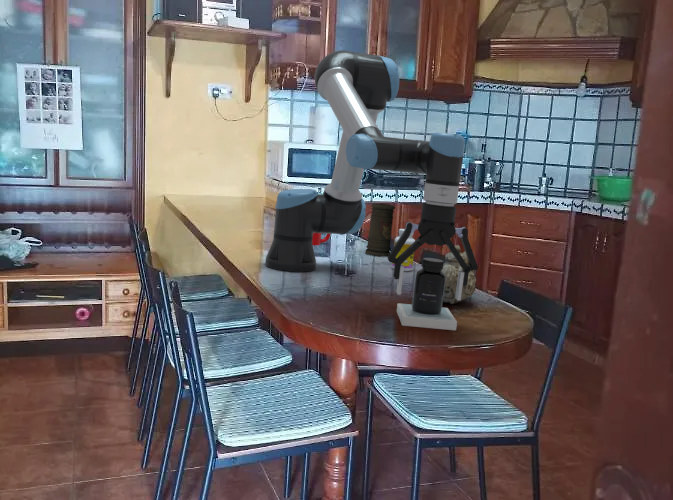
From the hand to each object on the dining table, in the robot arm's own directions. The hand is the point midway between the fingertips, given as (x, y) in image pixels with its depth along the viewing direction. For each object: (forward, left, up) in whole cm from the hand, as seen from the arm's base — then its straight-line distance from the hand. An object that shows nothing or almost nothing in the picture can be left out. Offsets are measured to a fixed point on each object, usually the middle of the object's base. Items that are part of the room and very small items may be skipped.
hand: (428, 296), depth 149 cm
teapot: (+10, +22, -6) cm, 25 cm away
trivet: (0, 0, -6) cm, 6 cm away
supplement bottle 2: (0, 0, -4) cm, 4 cm away
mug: (-28, +97, -6) cm, 101 cm away
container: (-5, +86, -6) cm, 86 cm away
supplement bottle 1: (+1, +61, -6) cm, 61 cm away
